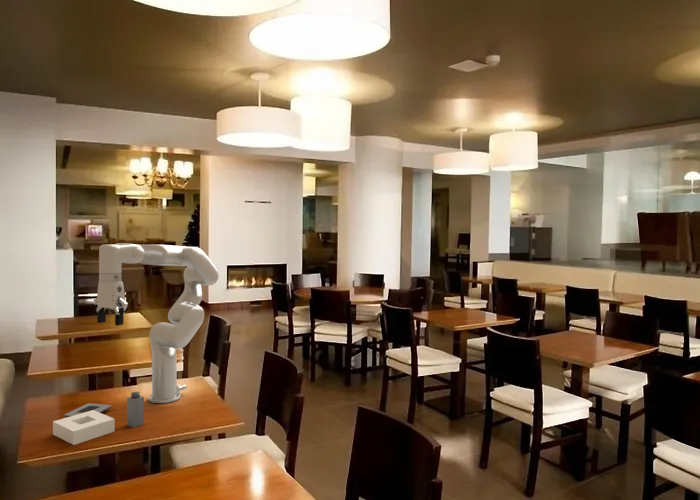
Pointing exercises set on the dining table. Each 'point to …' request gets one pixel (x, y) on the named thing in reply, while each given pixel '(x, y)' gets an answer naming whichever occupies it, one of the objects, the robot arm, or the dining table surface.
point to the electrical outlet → (88, 409)
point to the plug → (135, 410)
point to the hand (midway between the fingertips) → (110, 323)
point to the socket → (83, 427)
